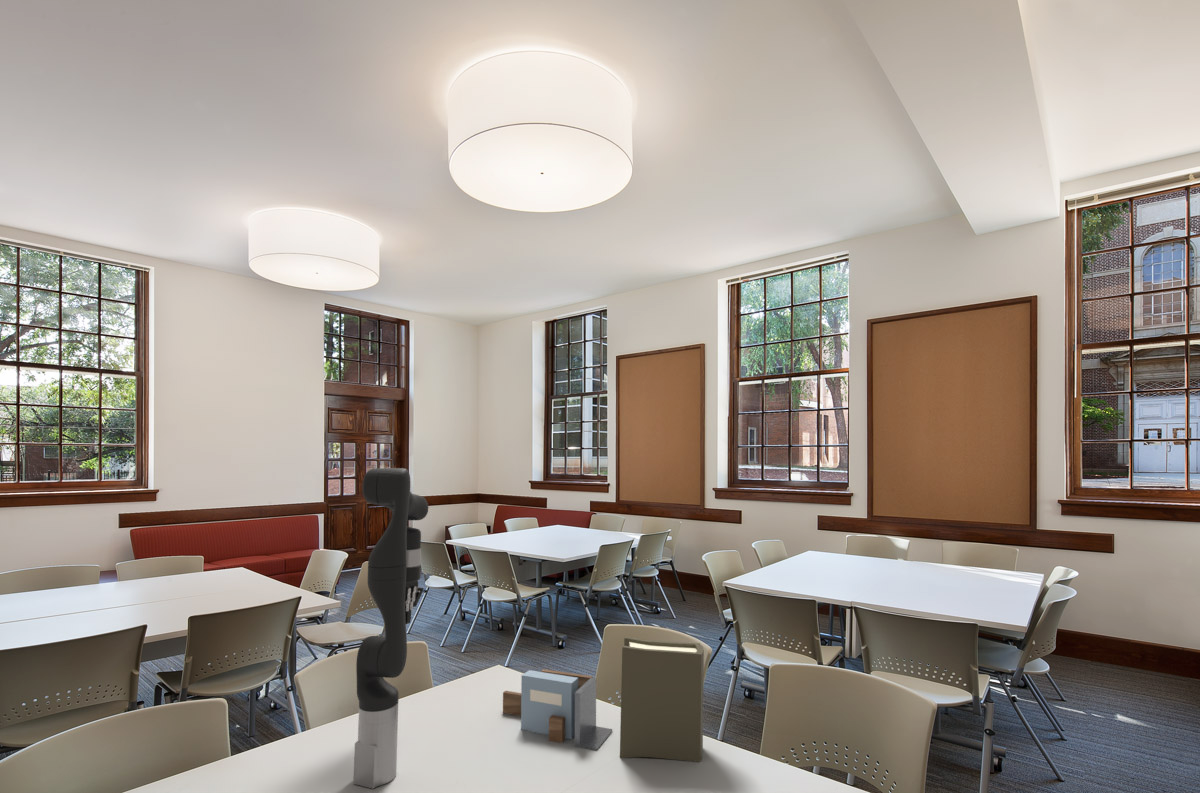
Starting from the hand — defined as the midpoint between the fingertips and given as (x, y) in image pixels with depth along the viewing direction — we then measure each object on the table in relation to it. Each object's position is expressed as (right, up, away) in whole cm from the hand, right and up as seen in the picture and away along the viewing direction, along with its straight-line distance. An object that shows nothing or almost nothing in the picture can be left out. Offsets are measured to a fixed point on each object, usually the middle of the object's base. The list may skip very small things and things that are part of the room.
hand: (405, 623), depth 181 cm
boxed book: (+43, -28, -7) cm, 52 cm away
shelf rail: (+40, -28, -5) cm, 49 cm away
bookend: (+56, -28, -12) cm, 64 cm away
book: (+75, -27, -19) cm, 82 cm away
